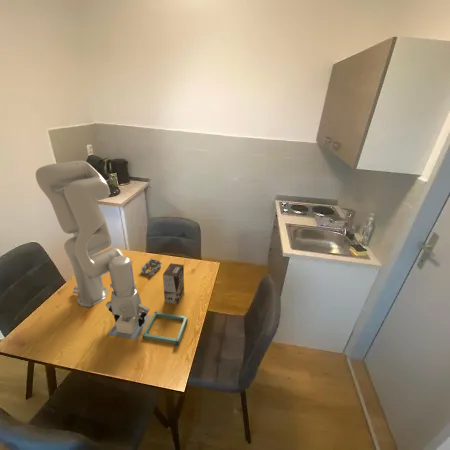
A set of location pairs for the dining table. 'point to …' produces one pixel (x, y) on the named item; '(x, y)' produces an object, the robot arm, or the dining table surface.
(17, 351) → the dining table surface
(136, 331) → the grey plate with peg
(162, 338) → the tray
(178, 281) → the coffee box
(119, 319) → the white hollow rectangular block
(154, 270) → the grey chain bracelet
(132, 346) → the dining table surface
